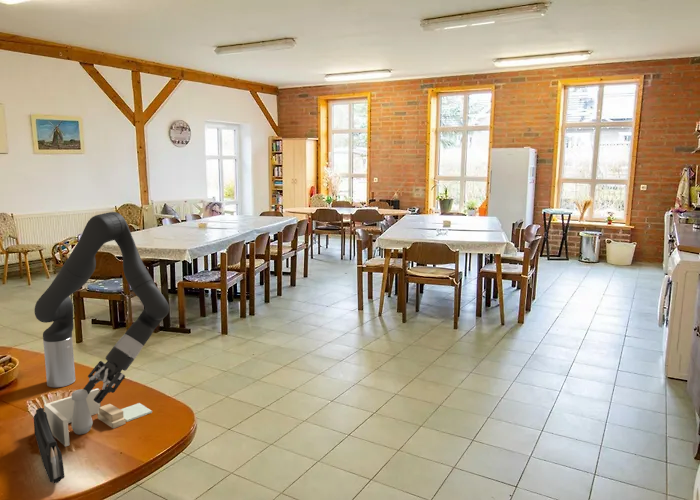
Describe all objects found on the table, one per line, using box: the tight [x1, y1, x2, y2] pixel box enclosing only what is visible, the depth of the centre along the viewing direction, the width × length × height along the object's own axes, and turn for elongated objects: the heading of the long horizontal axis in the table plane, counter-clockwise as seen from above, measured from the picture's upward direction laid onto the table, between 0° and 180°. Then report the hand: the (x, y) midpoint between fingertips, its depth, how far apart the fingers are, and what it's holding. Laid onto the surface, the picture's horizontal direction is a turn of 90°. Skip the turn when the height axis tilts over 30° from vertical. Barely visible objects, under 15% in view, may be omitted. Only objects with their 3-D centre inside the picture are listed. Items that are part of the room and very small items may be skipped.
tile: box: [120, 402, 153, 422], centre depth 170 cm, size 8×8×1 cm
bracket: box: [43, 388, 102, 448], centre depth 160 cm, size 15×16×8 cm
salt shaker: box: [71, 388, 94, 435], centre depth 158 cm, size 6×6×13 cm
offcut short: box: [99, 403, 124, 422], centre depth 165 cm, size 8×4×2 cm, turn 53°
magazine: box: [33, 407, 66, 484], centre depth 142 cm, size 17×3×30 cm
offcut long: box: [96, 413, 127, 429], centre depth 165 cm, size 10×4×2 cm, turn 51°
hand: (90, 397), depth 159 cm, fingers open, 8 cm apart
